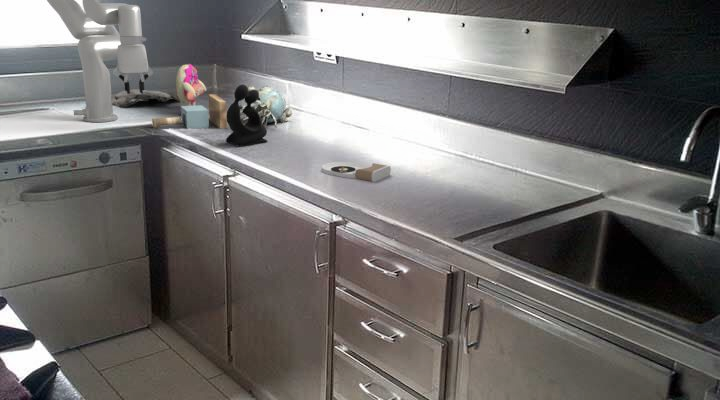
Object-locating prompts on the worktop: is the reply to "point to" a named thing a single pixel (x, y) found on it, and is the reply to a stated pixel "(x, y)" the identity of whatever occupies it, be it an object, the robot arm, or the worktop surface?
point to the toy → (188, 85)
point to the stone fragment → (140, 97)
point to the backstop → (217, 111)
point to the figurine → (254, 126)
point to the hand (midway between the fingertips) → (134, 92)
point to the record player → (357, 170)
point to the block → (195, 116)
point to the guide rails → (172, 126)
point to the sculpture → (269, 106)
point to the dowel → (165, 121)
